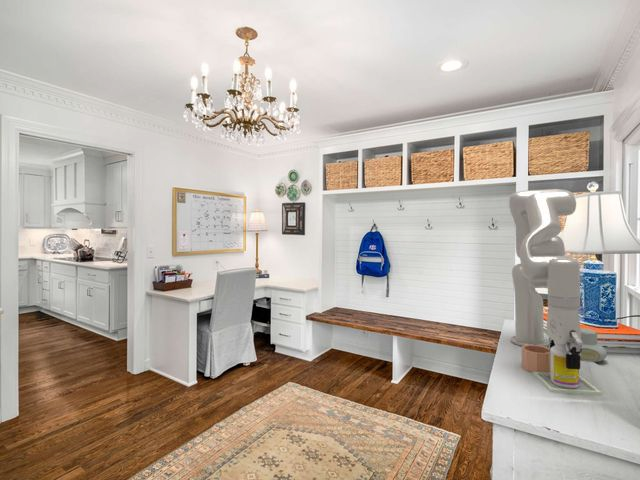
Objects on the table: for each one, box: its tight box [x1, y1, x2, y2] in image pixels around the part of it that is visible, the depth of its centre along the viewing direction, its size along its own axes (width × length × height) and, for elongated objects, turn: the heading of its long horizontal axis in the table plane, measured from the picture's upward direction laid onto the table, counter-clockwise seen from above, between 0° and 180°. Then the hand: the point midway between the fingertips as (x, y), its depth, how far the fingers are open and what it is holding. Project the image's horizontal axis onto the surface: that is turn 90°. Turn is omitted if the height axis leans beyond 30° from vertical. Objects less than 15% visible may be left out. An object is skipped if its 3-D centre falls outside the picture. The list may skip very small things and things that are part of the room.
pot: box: [521, 345, 550, 373], centre depth 110 cm, size 8×9×7 cm
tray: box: [532, 372, 602, 396], centre depth 98 cm, size 12×12×2 cm
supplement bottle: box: [549, 341, 580, 389], centre depth 99 cm, size 7×7×13 cm
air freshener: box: [573, 327, 608, 363], centre depth 118 cm, size 11×8×10 cm
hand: (564, 362), depth 99 cm, fingers open, 9 cm apart
